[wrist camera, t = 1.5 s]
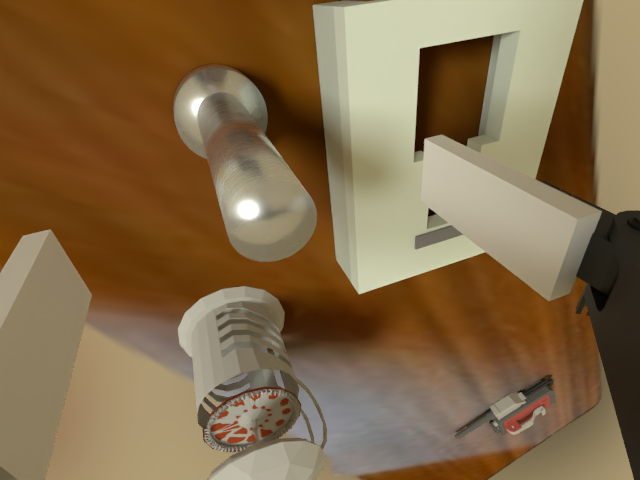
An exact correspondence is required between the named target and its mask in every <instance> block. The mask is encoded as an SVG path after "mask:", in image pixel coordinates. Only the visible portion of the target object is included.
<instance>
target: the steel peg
mask: <svg viewBox="0 0 640 480" xmlns="http://www.w3.org/2000/svg"><path fill="white" fill-rule="evenodd" d="M173 109H174V119H175V124H176V128H177V131H178V133H179V135H180V137H181V139H182V140H183V141H184V143H185V144H186V145H187V146H188V147H189V148H190V149H191V150H192V151H193V152H194V153H196V154H198V155H199V156H201V157H203V158H205V159H208V163H209V167H210V171H211V174H212V178H213V182H214V186H215V189H216V193H217V197H218V201H219V204H220V208H221V212H222V215H223V219H224V223H225V227H226V230H227V234H228V237H229V240H230V242H231V244H232V246H233V247H234V248H235V249H236V250H237V251H238V252H239V253H240V254H242V255H243V256H245V257H247V258H249V259H252V260H255V261H261V262H271V261H277V260H281V259H284V258H287V257H289V256H291V255H293V254H294V253H296V252H297V251H299V250H300V249H301V248H302V247H303V246H304V245H305V244H306V243H307V242H308V241H309V239H310V238H311V236H312V234H313V232H314V230H315V227H316V222H317V211H316V207H315V204H314V202H313V200H312V198H311V197H310V195H309V194H308V193H307V191H306V190H305V188H304V187H303V186H302V184H301V183H300V182H299V180H298V179H297V177H296V176H295V175H294V173H293V172H292V171H291V169H290V168H289V166H288V165H287V164H286V162H285V161H284V160H283V158H282V157H281V155H280V154H279V153H278V151H277V150H276V149H275V147H274V146H273V144H272V143H271V142H270V140H269V139H268V138H267V136H266V135H265V132H266V129H267V123H268V114H267V107H266V104H265V101H264V98H263V96H262V95H261V93H260V91H259V90H258V88H257V87H256V86H255V85H254V84H253V83H252V82H251V81H250V80H249V79H248V78H247V77H246V76H245V75H244V74H243V73H241V72H240V71H238V70H237V69H234V68H232V67H230V66H227V65H223V64H206V65H202V66H199V67H197V68H195V69H193V70H191V71H190V72H189V73H187V74H186V75H185V76H184V77H183V78H182V80H181V81H180V83H179V84H178V86H177V89H176V91H175V95H174V101H173Z"/></svg>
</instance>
